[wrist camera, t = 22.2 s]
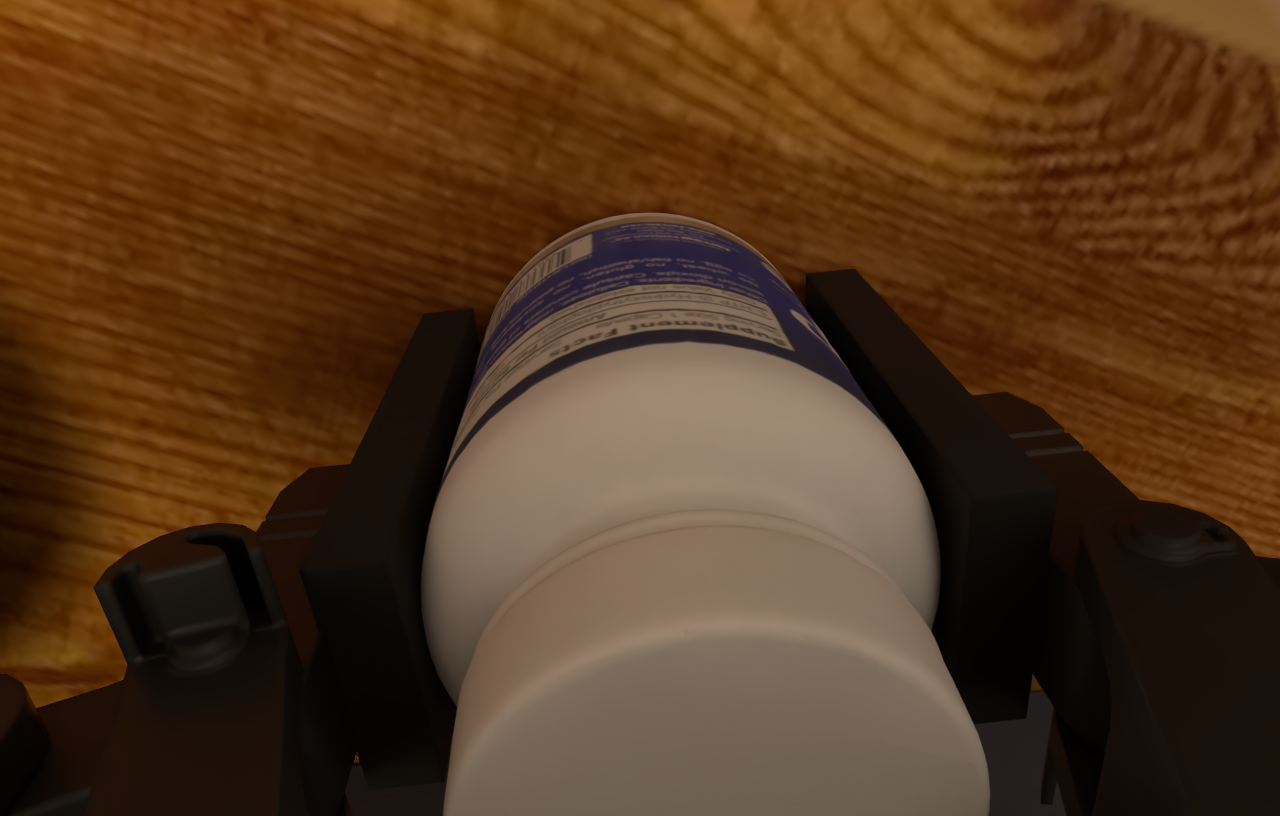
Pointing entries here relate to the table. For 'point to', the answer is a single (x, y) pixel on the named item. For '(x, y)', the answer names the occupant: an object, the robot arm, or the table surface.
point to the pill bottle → (684, 554)
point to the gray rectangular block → (1006, 744)
